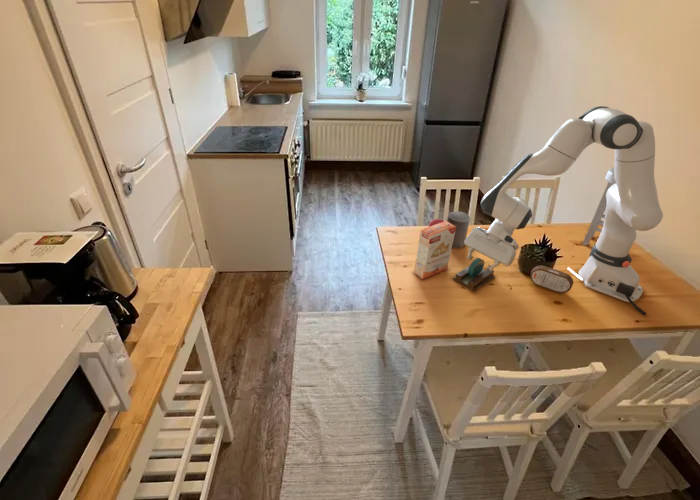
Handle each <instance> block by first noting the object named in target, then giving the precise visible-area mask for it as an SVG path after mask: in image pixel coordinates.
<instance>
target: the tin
mask: <svg viewBox="0 0 700 500" xmlns="http://www.w3.org/2000/svg"><path fill="white" fill-rule="evenodd" d="M529 278H530V280H531V281H532V283H534V284H535V285H536V286H539V287H542V288H545V289H547V290H550V291H553V292H556V293H560V294H563V293H564V294H565V293H568V292H569V291H571V289H572V288H573V286H574V279H573V277H572V276H571V275H569V274H568V273H567V272H565V271H564V272H563V271H561V270H558V269H555V268H552V267H548V266H545V265H536V266H534V267H533V268H532V270H531V271H530V277H529Z"/></svg>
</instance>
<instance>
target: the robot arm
mask: <svg viewBox="0 0 700 500" xmlns="http://www.w3.org/2000/svg"><path fill="white" fill-rule="evenodd" d="M594 143H596V144H598V145H600V146H603V147H604V148H606V149H610V150H614V166H613V167H614V178H615V182H616V183H615V184H614V185H612V186H611V187H610V188H609V189H608V191H607V193H606V199H607V206H606V209H605V212H604V213H605V214H604V215H605V218H603V219H604V220H603V221H604V225H603V226H602V228H601V229H602V231H601V232H600V234H599V236H598V238H597V241H596V243H595V244H593V246H592V248H591V250H590V252H589V255H588V259H587V260H586V262H585V263H584V264H583V266H582V267H581V268H580V269H579V270H578V273H576V272H575V271H574V270H573V269H571V268H570V267H567V271H569V272H570V273H571V274H573V275H574V276H576V277H577V279H579V280H581V281H583V283H584V286H585V287H587V288H589V289H590V290H593V291H597V292H599V293H602V294H604V295H607V296H610V297H612V298H615V299H617V300H620V301H623V302H626V303H630V304H631V306H633V307H634V308H635V309H636V310H637V311H639V312H640V313H641V314H643V315H644V316H645V315H647V312H646V311H644V310H643V309H642V308H640V307H639V306H638V305H637V304H636V303H635V302H636V301H638V300H639V299H640V298H641V296H643V291H644V290H643V287H642V286H641V285H639V284H640V280H641V279H640V275H639V273H637V271H636V270H635V269H634V268H633V266H632V265H631V263H632V262H633V259H634V256H633V255H632V256H631V255H630V254H629V253H630V251H631V249H632V247H633V245H634V243H635V242H636V239H637V231H638V232H639V231H640V232H644V231H645V232H646V231H650V230H653V229H654V228H656V227H657V226H659V224H661V222H662V221H663V218H664V213H663V211H662V208H661V205H660V201H659V196H658V191H657V184H656V180H655V163H656V162H655V161H656V138H655V132H654V128H653V126H652V124H651V123H649V122H646V121H643V120H642V121H641V120H639V121H638V120H637V119H636V118H635V117H634V116H632V115H630V114H628V113H626V112H624V111H623V110H619V109H616V108H611V107H608V106H605V105H604V106H600V105H599V106H594V107H592V108H589V109H588V110H587V111H585V112H584V113H583V114H582V115H581V116H579V117H578V118H575V117H574V118H569V119H567V120H566V121H565V122H563V123H562V124H561V126H560V127H559V128H557V129H556V131H555V132H554V133H553V134H552V136H551V137H550V138H549V139H548V140H547V142H546V143H545V145H544V146H543V147H542V148H540V150H538V151H536V152H535V153H528V154H526V155H525V156H524V157H523V158H521V159H520V160H519V161H518V162H517V163H516V164H515V165H514V166H513V167H512V168H511V169H510V170H509V171H508V172H507V173H506V174H505V175H504V177H502V178H501V180H500V181H498V183H496V184H495V185H494V187H492V188H491V189H490V190H489V191H487V192H486V193H485V194H484V195H483V197H482V198H481V201H480V208H481V211H482V213H484V214H485V215H488V216H490V217H491V218H494V221H493V222H492V223H491V224H490V225H489V227H488V228H487V229H485V228H482V227H480V226H476V227H473V228H472V229H471V231H470V233H469V234H467V235H466V239H465V240H464V246H465V247H467V248H468V255H467V256H466V259H467V260H469V261H472V259H473V258H474V257H473V253H474V252H477V253H478V254H481V255H483V256H485V257H487V258H489V259H491V260H493V261H494V263H493V264H488V266H487V267H486V270H487V269H488V270H489V271H492V270H494V269H495V268H497V267H498V266H500V264H502V265H503V266H505V267H509V266H511V265H512V264H513V261H514V260H515V258H516V255H517V250H519V248H520V246H519V243H518V242H517V240H516V239H514V238H513V237H512V236H513V234H514V231H515V230H523V229H525V228H526V226H527V225H528V223H529V222H530V220H531V219H532V217H533V211H532V208H531V207H530V206H529V204H528V202H527V201H526V200H525V199H523V198H520V197H518V196H517V197H516V196H513V197H512V196H511V195H509V194H507V193H506V192H507V190H508V189H509V188H510V187H512V185H514V184H515V182H516V181H518V179H519V178H521V177H522V176H524V175H539V176H547V177H554V176H559V175H563V174H565V173H566V172H567V171H568V170H569V169H570V168H571V167H572V166H573V165H574V164H575V162H576V161H577V160H578V159H579V157H580V156H581V154H582V153H583V152H584V151H585V149H586V148H588V147H589V146H590V145H592V144H594Z"/></svg>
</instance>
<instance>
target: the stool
mask: <svg viewBox="0 0 700 500" xmlns="http://www.w3.org/2000/svg"><path fill="white" fill-rule="evenodd" d="M604 179H605V181H607V185H606V187H605V189H604V192H603V194H602V196H601V199H600V200H599V203H598V205H597V208H596V210H595V213H594V215H593V217H592V219H591V221H590V225H589V227H588V229H587V231H586V234H585V236H584V239H583V241H582V243H581V244H582V245H583V246H588V245H589V244H590V241H591V239H593V238H594V236H595V234H596V232H600V233H601V231H602V228H600V227H599V226H601V227H603V225H604V220H602V218H603V219H605V214H604V213H605V212H606V207H607V199H606V193H607V191H608V189H609V188H610V187H611V186H612V185H614V184H615V183H616V182H615V178H614V166H613V167H610V168H609V169H608V170H607V173H606V175H605V177H604Z"/></svg>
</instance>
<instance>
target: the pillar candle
mask: <svg viewBox="0 0 700 500" xmlns="http://www.w3.org/2000/svg"><path fill="white" fill-rule="evenodd" d="M470 220H471V216H470V215H469V214H467V213H466V212H463V211H451V212H449V213H448V215H447V218H446V221H447V222H449V223H451V224H452V225H454V226H456V231H455V235H454V240H453V244H452V248H454V249H460V248H462V247H464V246H465V244H464V240H465V239H466V238H467V236H468V232H469V231H468V229H469V225H470V222H471V221H470Z"/></svg>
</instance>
